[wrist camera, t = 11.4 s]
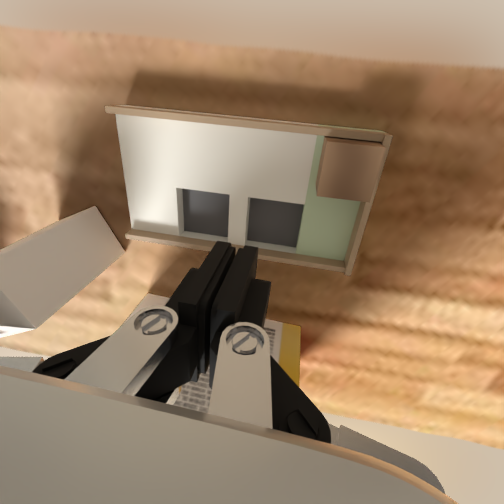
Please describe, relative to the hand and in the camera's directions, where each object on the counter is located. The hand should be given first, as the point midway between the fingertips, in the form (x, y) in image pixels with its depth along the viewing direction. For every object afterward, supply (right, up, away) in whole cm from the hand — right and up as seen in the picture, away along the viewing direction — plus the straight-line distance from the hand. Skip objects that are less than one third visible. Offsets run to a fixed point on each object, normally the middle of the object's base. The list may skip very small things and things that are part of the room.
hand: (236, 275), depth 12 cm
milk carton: (-21, +3, +27) cm, 34 cm away
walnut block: (+9, +9, +15) cm, 20 cm away
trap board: (0, +8, +20) cm, 22 cm away
